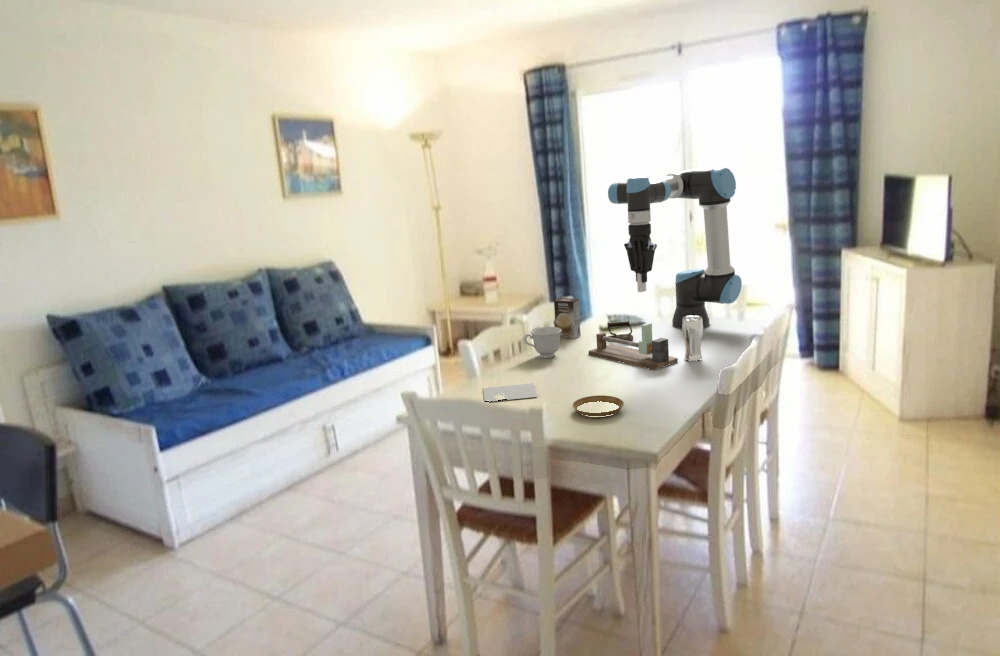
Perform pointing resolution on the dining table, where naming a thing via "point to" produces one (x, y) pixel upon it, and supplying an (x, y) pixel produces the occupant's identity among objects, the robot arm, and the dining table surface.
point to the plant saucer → (599, 398)
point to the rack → (634, 352)
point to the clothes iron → (623, 336)
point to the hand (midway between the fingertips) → (641, 291)
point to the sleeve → (646, 339)
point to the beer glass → (692, 337)
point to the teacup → (545, 340)
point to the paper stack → (510, 392)
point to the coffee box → (567, 317)
